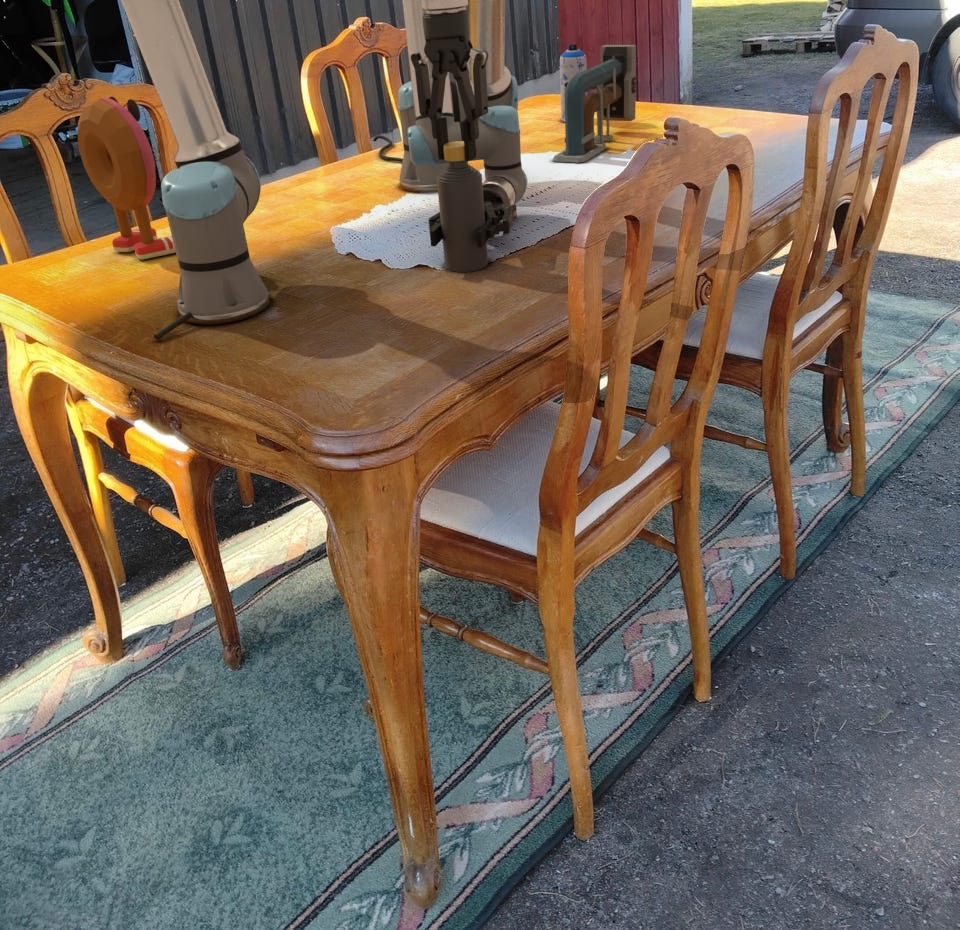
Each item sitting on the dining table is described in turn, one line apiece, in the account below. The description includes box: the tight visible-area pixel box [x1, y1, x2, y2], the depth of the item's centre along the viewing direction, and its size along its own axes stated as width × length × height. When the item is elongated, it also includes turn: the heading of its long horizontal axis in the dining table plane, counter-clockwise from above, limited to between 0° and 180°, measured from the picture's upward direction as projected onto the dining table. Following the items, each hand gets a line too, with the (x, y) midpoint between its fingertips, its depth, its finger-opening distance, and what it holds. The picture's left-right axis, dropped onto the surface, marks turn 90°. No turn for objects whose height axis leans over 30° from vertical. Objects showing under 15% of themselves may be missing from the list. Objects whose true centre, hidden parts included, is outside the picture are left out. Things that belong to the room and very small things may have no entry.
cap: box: [443, 141, 465, 161], centre depth 166 cm, size 5×5×2 cm
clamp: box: [552, 44, 637, 164], centre depth 243 cm, size 35×9×21 cm, turn 151°
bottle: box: [437, 160, 489, 273], centre depth 171 cm, size 8×8×21 cm
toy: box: [77, 96, 176, 260], centre depth 191 cm, size 21×10×30 cm, turn 47°
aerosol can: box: [559, 43, 588, 123], centre depth 273 cm, size 8×8×20 cm
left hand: (457, 158), depth 167 cm, fingers closed on cap, 4 cm apart
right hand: (455, 239), depth 170 cm, fingers closed on bottle, 8 cm apart
